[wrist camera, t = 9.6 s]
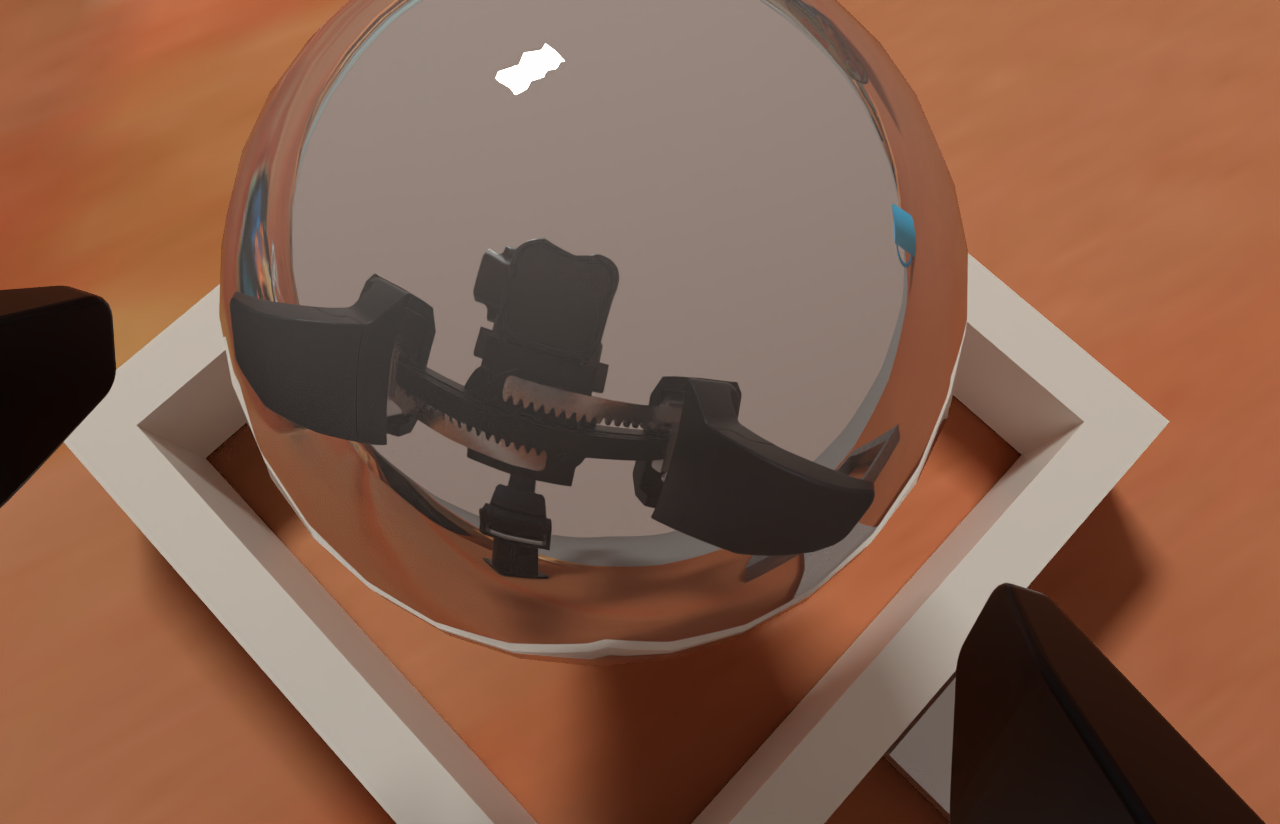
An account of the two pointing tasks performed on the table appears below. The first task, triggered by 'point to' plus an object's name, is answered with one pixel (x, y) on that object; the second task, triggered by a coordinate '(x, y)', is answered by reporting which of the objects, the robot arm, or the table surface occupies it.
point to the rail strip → (929, 749)
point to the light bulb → (594, 310)
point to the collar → (809, 736)
